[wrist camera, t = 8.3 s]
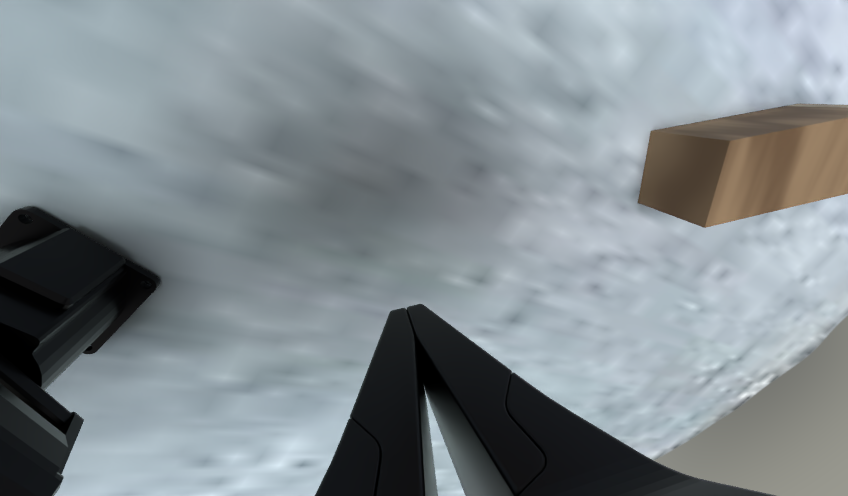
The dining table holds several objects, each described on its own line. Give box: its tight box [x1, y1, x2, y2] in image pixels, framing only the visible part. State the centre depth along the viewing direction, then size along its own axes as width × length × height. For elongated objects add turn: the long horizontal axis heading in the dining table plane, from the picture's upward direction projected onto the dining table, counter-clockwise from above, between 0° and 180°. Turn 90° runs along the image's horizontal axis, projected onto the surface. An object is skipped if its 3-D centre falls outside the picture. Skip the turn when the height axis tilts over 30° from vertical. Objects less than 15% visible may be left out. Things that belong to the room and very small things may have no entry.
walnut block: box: [638, 104, 848, 228], centre depth 21 cm, size 5×5×12 cm
